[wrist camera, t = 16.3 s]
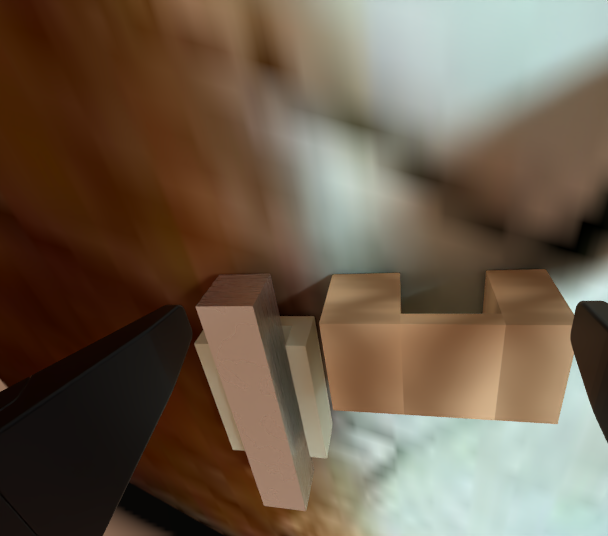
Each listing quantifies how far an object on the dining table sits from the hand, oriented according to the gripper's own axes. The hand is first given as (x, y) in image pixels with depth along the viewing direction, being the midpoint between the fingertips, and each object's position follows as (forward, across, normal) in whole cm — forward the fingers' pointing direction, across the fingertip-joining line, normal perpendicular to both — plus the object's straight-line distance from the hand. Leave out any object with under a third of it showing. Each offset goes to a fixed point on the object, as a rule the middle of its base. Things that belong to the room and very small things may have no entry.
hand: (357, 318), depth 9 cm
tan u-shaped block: (+12, -2, +9) cm, 15 cm away
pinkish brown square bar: (+11, +8, +14) cm, 20 cm away
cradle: (+12, +8, +14) cm, 20 cm away
